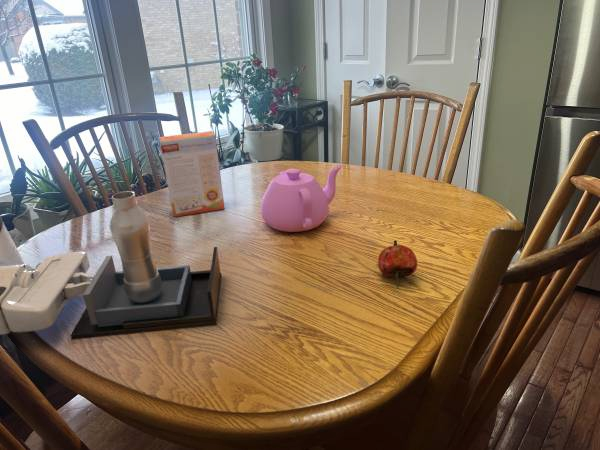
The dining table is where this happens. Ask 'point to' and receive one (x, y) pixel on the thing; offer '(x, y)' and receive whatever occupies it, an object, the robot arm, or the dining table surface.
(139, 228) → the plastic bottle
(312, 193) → the teapot
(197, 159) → the cracker box
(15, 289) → the robot arm
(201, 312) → the base
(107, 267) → the gray sliding drawer
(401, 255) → the pomegranate
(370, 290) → the dining table surface
